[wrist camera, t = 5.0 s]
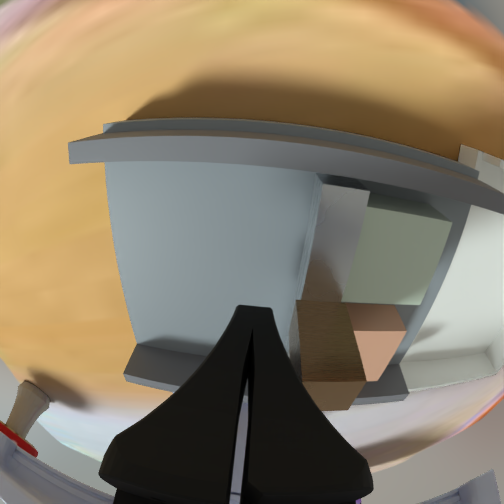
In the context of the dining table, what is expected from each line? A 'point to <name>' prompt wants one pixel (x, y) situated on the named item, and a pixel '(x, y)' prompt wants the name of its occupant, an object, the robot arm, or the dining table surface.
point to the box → (466, 299)
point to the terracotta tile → (376, 335)
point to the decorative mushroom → (25, 415)
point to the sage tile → (396, 251)
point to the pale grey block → (328, 295)
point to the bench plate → (246, 226)
